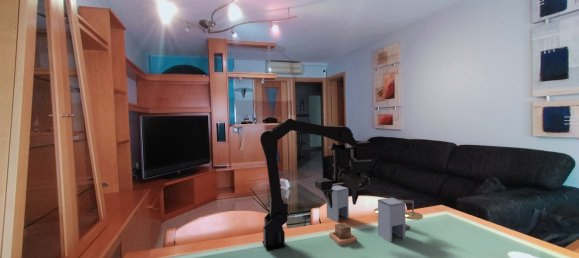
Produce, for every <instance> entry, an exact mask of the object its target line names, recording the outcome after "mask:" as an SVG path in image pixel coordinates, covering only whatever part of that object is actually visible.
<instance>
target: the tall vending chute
mask: <svg viewBox="0 0 579 258" xmlns="http://www.w3.org/2000/svg"><path fill="white" fill-rule="evenodd" d="M331 190H333V193H332V208H330V207H329V204H328V202H327V201H326V218H328V219H330V220H333V222H337V223H338V222H340V218H339V217H343V218H345V219H346V220H347V219H349V218H350V217H349V215H350V213H349V210H350V209H349V205H350V204H349V202H350V201H349V189H348V188H346V186H343V185H335V186H333V187H332V189H331Z"/></svg>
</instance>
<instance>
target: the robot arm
mask: <svg viewBox="0 0 579 258" xmlns="http://www.w3.org/2000/svg"><path fill="white" fill-rule="evenodd" d="M292 131H294V132H300V133H303V134H304V133H305V134H310V135H315V136H321V137H323V138H327V139H330V140H332V142H331V144H330V145H328V146H327V149H328V150H330V151H333V163H332V164H331V167H332V168H333V175H332V180H331V179H328V178H326V177H322V178H316V179H315V180H314V181H315V182H314V187H315V188H317V189H318V190H320V191H322V193H323V196H324V197H325V200H326V203H327V202H328V204H329V207H330V208H332V193H333V190H331V189H332V187H333V186H335V185H339V186H343V185H344V187H346V188H348V190H350V189H351V190H350V191H351V200H352V205H356V204H357V201H358V198H359V195H360V194H361V191H362V190H363V189H364V188H367V186H369V185H370V178H369V177H368V176H367V175H366V174H365V172H364V171H358V172H357V171H356V172H355V171H354V166H353V165H352V164H351V159H352V160H353V161H354V162H355V163H356V162H372V161H373V159H374V155H375V154H374V151H373V147H372V142H371V141H363V142H361V141H359V142H357V140H356V139H355V138H354V136H353V131H352V130H351V128H350V127H348V126H344V125H321V124H316V123H312V122H306V121H301V120H295V119H294V118H286V119H285V120H283V122H281V123H279V124H278V125H276V126H275V127H273V128H272V129H266V130H264V131H263V132H261V133H260V136H259V137H260V140H259V141H260V145H261V148H262V151H263V154H264V157H265V161H266V168H267V177H268V184H269V192H270V202H269V204H270V205H269V212H268V213H267V214H266V215H265V216H264V218H263V221H264V222H263V223H264V224H263V225H264V226H263V229H262V230H263V233H262V235H263V240H262V245H263V247H264V248H265V251H271V250H275V249H283V248H285V247H286V245H285V242H286V241H285V239H286V238H285V234H286V233H285V230H284V227H283V226H284V225H285V224H286V223H287V222H288V220H289V216H290V211H289V203H288V200H287V198H283V196H282V188H281V182H280V174H279V166H278V148H279V147H278V146H279V144H278V142H279V140H281V139H282V138H283V137H285V136H286V135H288V133H289V132H292ZM333 141H335V142H338V143H340V144H337V143H335V142H333ZM345 145H348V146H345Z"/></svg>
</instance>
